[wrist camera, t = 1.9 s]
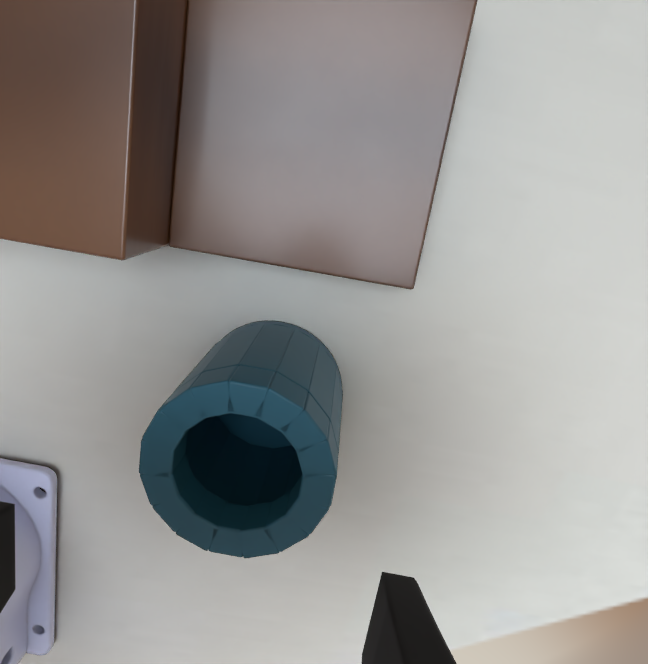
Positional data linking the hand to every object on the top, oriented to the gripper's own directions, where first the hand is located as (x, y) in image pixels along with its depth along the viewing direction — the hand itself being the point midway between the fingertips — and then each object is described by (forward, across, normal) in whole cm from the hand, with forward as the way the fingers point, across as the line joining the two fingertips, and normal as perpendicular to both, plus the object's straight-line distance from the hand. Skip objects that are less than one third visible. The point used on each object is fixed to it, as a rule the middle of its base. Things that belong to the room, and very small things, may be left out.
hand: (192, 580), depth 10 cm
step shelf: (+10, +4, -9) cm, 14 cm away
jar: (+10, 0, 0) cm, 10 cm away
